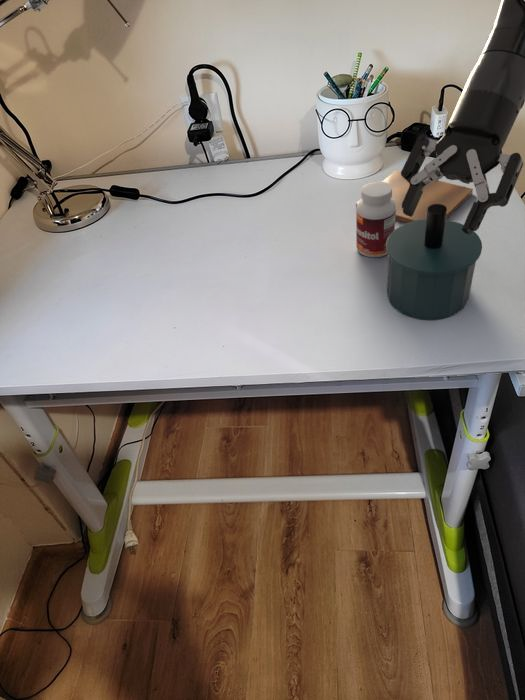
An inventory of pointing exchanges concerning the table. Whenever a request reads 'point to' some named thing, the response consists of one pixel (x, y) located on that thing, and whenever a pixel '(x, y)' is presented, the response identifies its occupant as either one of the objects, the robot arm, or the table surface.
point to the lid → (433, 245)
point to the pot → (428, 292)
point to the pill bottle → (375, 218)
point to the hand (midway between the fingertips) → (435, 223)
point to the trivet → (426, 197)
